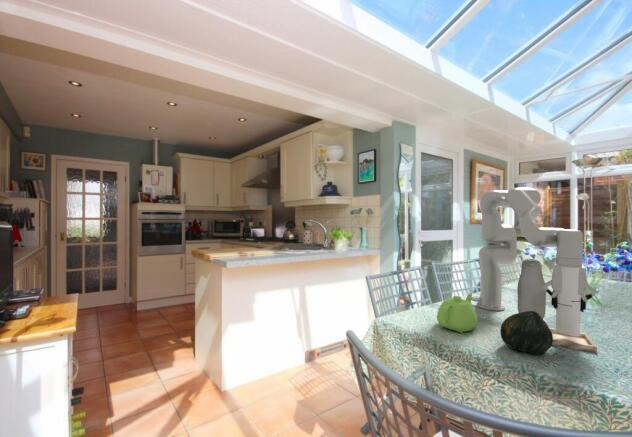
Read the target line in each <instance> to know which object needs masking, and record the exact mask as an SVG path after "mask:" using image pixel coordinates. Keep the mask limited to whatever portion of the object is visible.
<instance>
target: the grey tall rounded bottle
mask: <svg viewBox="0 0 632 437" xmlns="http://www.w3.org/2000/svg"><path fill="white" fill-rule="evenodd" d="M520 267H521V271H520V275H519V278H518V281H517V287H516V288H517V289H516V290H517V313H521V312H525V311H535V312H537V313H538V314H539V315H540V316H541V317H542V319H543V320H544V318H545V317H546V311H547V310H546V306H547V292H546V291H545V290H544V288H543V287H542V285H543V284H545V283H546V282H545V279H544V274H543V265H542V263H541V261H540V260H537V259H534V258H527V259H524V260H523V261H522V262H521V266H520Z"/></svg>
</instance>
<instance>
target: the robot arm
mask: <svg viewBox="0 0 632 437" xmlns="http://www.w3.org/2000/svg"><path fill="white" fill-rule="evenodd" d="M541 199H542V196H541V193H540V192H539V191H538V190H537V189H535V188H533V187H513V188H511V189H508V190H503V189H502V190H500V189H499V190H498V189H497V190H496V189H494V190H493V189H492V190H488V191H486V192H484V193H483V194H482V195H481V197H480V200H479V208H480V212H481V236H482V237H481V238H482V240H483V242H485V243H489V244H500V245H486V246H485V245H484V246H482V247H481V248H480V249H479V251H478V259H479V264H480V285H479V286H480V287H479V288H480V290H479V291H480V293H479V294H480V295H479V296H477V297H475V296H472V297H471V301H472V302H476V306H477V307H478V308H481V309H484V310H488V311H489V310H490V311H498V312H499V311H504V310H505V308H506V307H505V305H503V304H502V295H503V294H502V292H503V290H502V289H503V287H502V285H503V273H502V270H501V268H500V267H499V265H512V264H514V263H515V262H516V260H517V256H518V255H517V253H518V252H517V250H518V249H517V248H518V246H517V245H518V244H517V243H518V242H517V240H518V238H517V236H518V235H517V231H516V229H515V228H514V227H513V226H512V225H509V224H502V216H501V213H500V211H499V210H498V209H497V208H503V209H504V208H511V209H512V210H513V211H514V212H515V214H516V215H517V216H518V217H519V218H520V219H519V221H518V222H519V223H518V225H519V226H518V227H519V231H520V233H521V234H522V236H523V237H524V238H525V239H526V240H527V242H529V244H530V245H532V246H534V247H538V248H544V247H545V248H546V247H548V248H556V256H555V257H554V258H553V257H552V258H551V262H553V263H555V264H554V265H553V268H552V273H551V279H550V280H549V281H547V282H545V284H543V285H542V287H543V288H544V290H545V291H546V294H548V295H549V296H550V297H551V302H550V303H551V306H553V308H554V310H556V308H557V298H556V295H557V294H558V292H562V268H561V266H562V267H571V268H579V277H578V294H579V295H581V313H584V311H586V309H587V302H588V301H589V300H590V299H591V298H593V296H594V297H595V295H596V294H598V291H597V290H596V289H594V287H592V286H591V285H589V284H588V277H587V276H588V275H587V270H586V267H585V266H583V246H584V244H583V240H584V239H583V238H584V234H583V233H584V232H583V231H581V230H579V229H565V228H561V227H539V226H538V225H537V224H536V223H535V220H536V219H537V218H539V217H540V215H541V213H542V208H541V206H539V204H540V202H541ZM550 286H551V289H552V291H551V290H550V288H548V287H550ZM588 290H589V291H590V292H589V293H588Z"/></svg>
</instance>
